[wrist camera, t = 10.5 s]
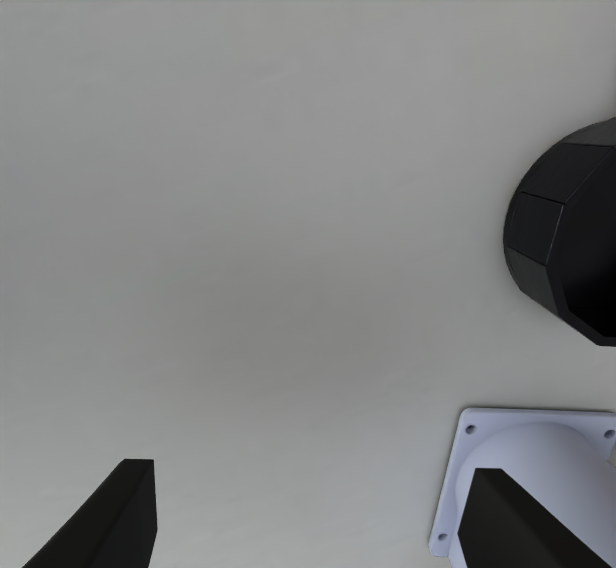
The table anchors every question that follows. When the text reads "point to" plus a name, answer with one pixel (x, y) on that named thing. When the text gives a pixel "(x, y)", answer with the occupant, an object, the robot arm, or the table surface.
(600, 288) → the pan
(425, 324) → the table surface
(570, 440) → the robot arm
